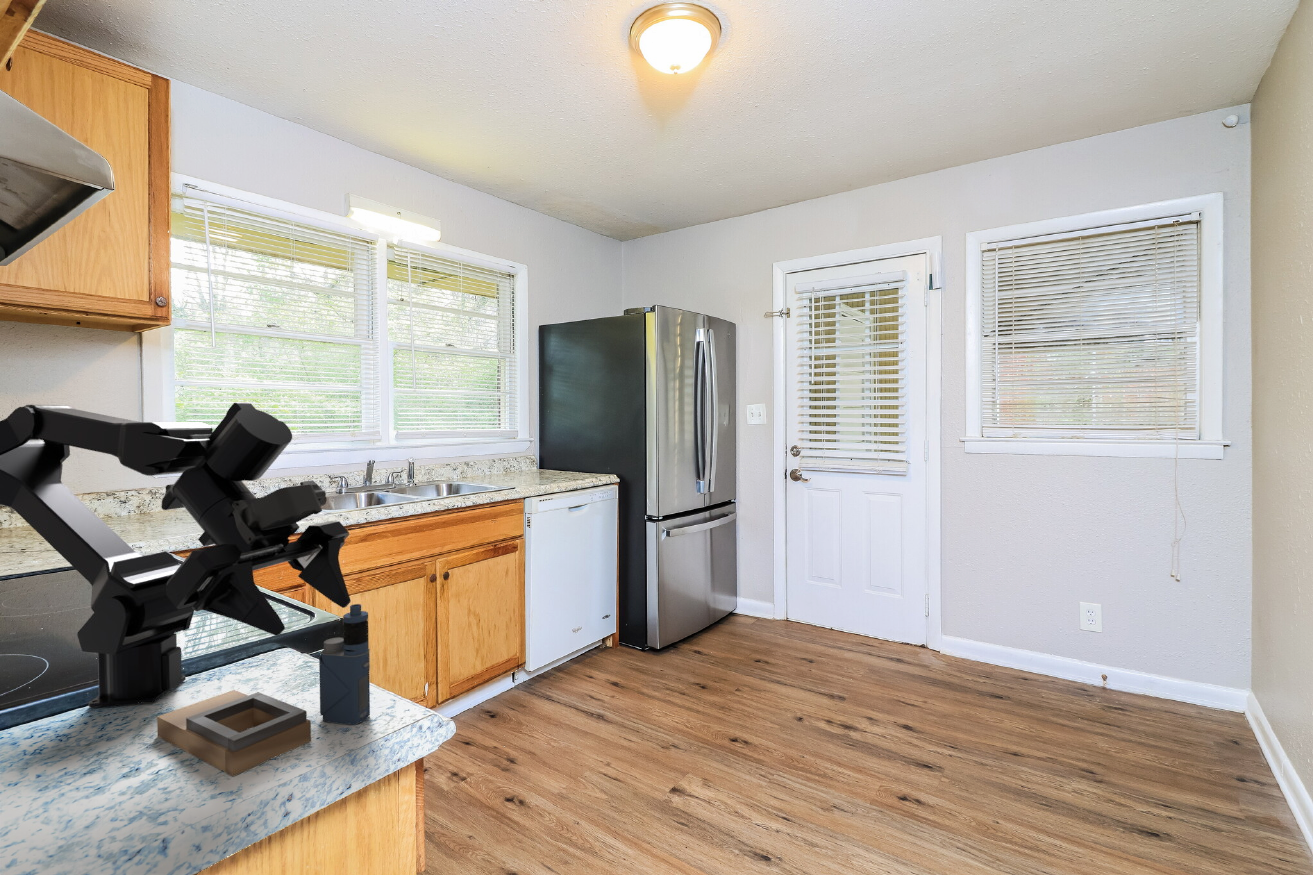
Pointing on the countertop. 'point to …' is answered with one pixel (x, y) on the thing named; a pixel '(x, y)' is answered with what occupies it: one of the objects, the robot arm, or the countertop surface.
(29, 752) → the countertop surface
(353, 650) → the vaping device
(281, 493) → the robot arm
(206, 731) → the walnut socket board
